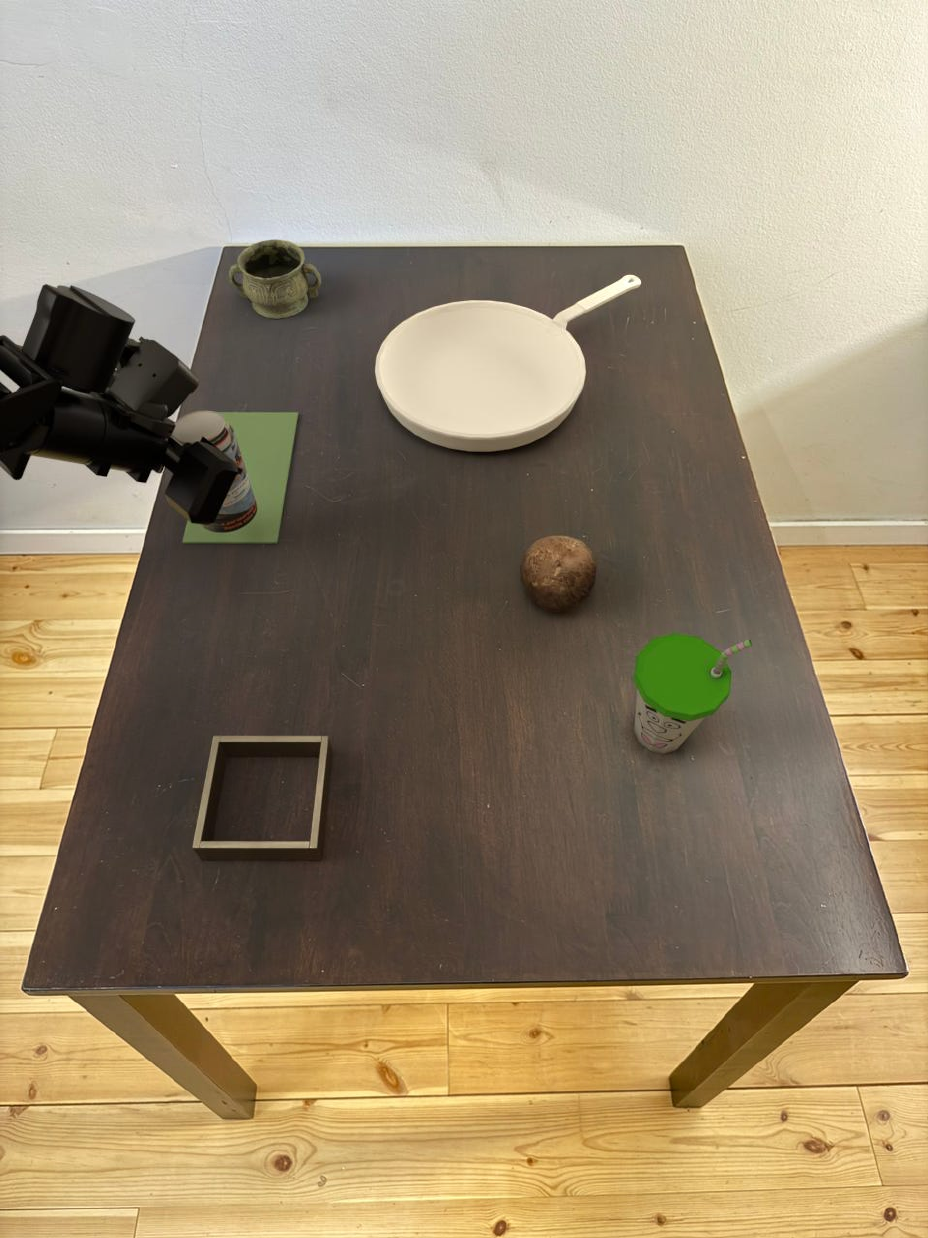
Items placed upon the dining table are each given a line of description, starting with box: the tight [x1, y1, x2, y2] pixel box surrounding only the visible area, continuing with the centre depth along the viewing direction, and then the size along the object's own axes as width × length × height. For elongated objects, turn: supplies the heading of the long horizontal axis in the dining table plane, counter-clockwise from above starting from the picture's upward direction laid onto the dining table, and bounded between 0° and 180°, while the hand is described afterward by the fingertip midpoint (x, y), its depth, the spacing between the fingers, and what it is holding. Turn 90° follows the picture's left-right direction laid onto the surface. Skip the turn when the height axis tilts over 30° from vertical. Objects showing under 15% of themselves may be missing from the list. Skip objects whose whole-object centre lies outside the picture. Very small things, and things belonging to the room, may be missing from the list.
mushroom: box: [519, 535, 598, 613], centre depth 84 cm, size 8×8×6 cm
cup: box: [632, 632, 753, 755], centre depth 71 cm, size 8×8×15 cm
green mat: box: [181, 411, 299, 545], centre depth 95 cm, size 10×20×1 cm, turn 0°
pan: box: [374, 274, 642, 453], centre depth 104 cm, size 25×39×4 cm, turn 129°
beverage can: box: [172, 410, 257, 533], centre depth 83 cm, size 6×7×12 cm
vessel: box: [228, 238, 322, 320], centre depth 111 cm, size 12×9×6 cm
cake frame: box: [192, 735, 334, 861], centre depth 72 cm, size 10×10×3 cm
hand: (220, 458), depth 83 cm, fingers closed on beverage can, 6 cm apart
